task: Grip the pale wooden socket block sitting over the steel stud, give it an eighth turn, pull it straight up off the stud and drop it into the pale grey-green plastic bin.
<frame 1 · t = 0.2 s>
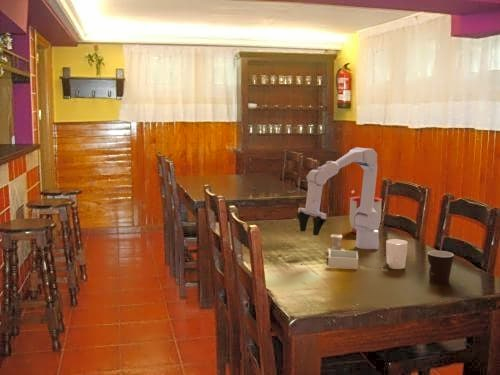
hand: (309, 233, 215), 11 cm above the table, tool pointing down, fingers open, 7 cm apart
citrus juicer: (364, 233, 262), on the table
white cup: (395, 267, 205), on the table
bin: (343, 264, 209), on the table
socket block: (336, 250, 224), point 1 cm above the table, touching stud plate
coffee mug: (440, 280, 189), on the table
stud plate: (336, 253, 224), on the table
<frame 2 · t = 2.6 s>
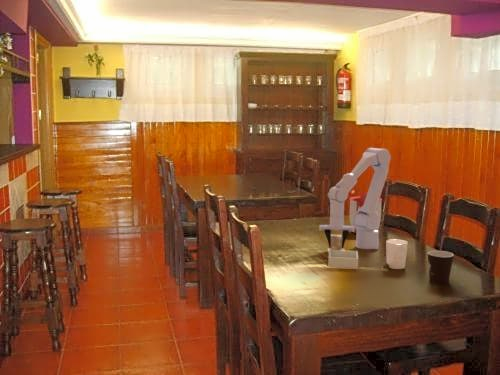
hand: (336, 247, 224), 3 cm above the table, tool pointing down, fingers closed on socket block, 5 cm apart
socket block: (336, 250, 224), point 1 cm above the table, touching gripper, stud plate
everything else where it was.
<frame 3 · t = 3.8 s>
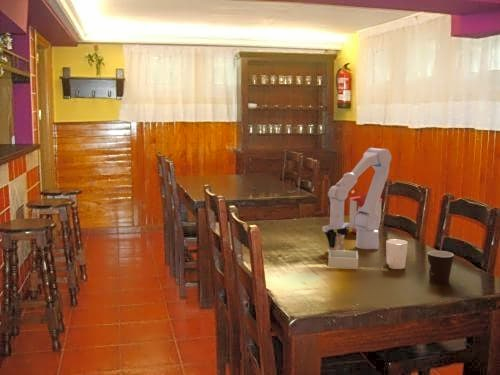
hand: (336, 246, 224), 3 cm above the table, tool pointing down, fingers closed on socket block, 5 cm apart
socket block: (336, 249, 224), point 2 cm above the table, touching gripper
everything else where it was.
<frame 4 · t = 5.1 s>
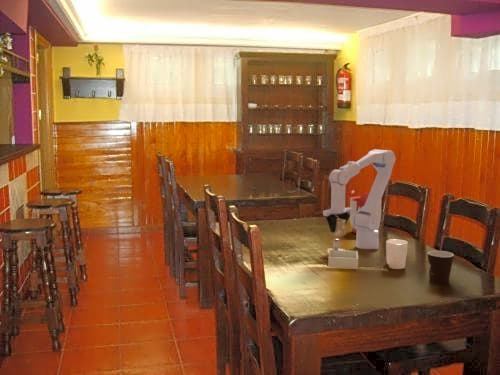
hand: (337, 231, 221), 10 cm above the table, tool pointing down, fingers closed on socket block, 5 cm apart
socket block: (337, 234, 221), point 9 cm above the table, touching gripper
everything else where it was.
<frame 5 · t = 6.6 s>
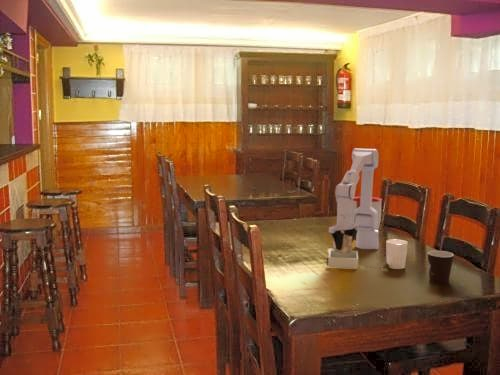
hand: (343, 248, 208), 6 cm above the table, tool pointing down, fingers closed on socket block, 5 cm apart
socket block: (343, 252, 208), point 5 cm above the table, touching gripper
everything else where it was.
when the fingers open (4 cm above the table, at t = 7.8 s): socket block drops 2 cm, resting on bin.
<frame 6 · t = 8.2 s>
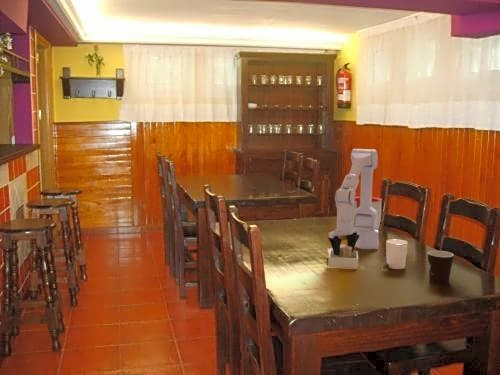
hand: (343, 253, 208), 4 cm above the table, tool pointing down, fingers open, 7 cm apart
socket block: (342, 262, 209), point 1 cm above the table, touching bin
everything else where it was.
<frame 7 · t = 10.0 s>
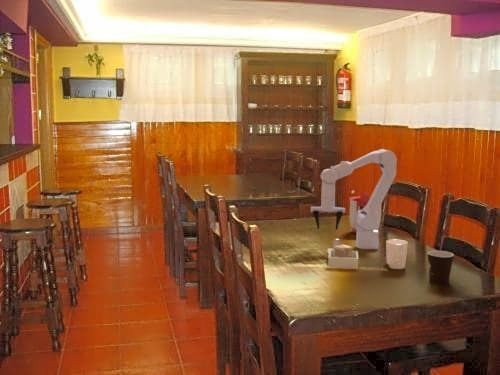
hand: (327, 228, 228), 9 cm above the table, tool pointing down, fingers open, 7 cm apart
nothing on the table moved.
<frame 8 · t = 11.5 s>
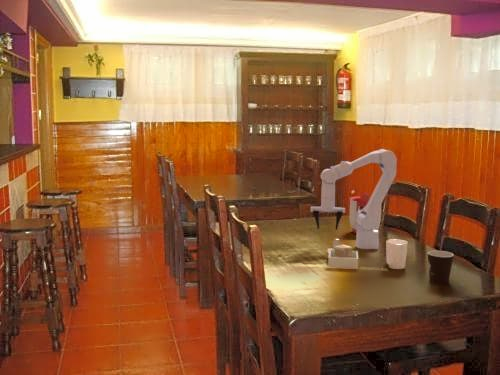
hand: (327, 228, 228), 9 cm above the table, tool pointing down, fingers open, 7 cm apart
nothing on the table moved.
at the end: socket block inside the target area on the bin (0.1 cm from its centre), point 0.6 cm above the bin's base; socket block moved 15.2 cm from its start; the gripper is holding nothing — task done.
